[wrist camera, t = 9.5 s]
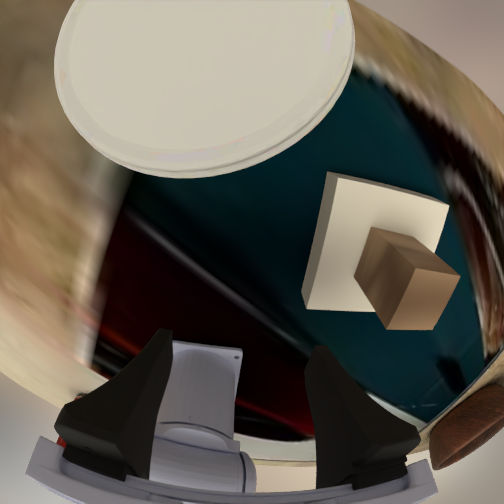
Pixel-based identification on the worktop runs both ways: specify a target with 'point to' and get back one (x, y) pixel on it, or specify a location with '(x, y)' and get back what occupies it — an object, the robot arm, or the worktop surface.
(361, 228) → the base brick
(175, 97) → the coffee cup
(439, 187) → the worktop surface
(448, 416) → the wooden bowl
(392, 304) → the walnut brick
